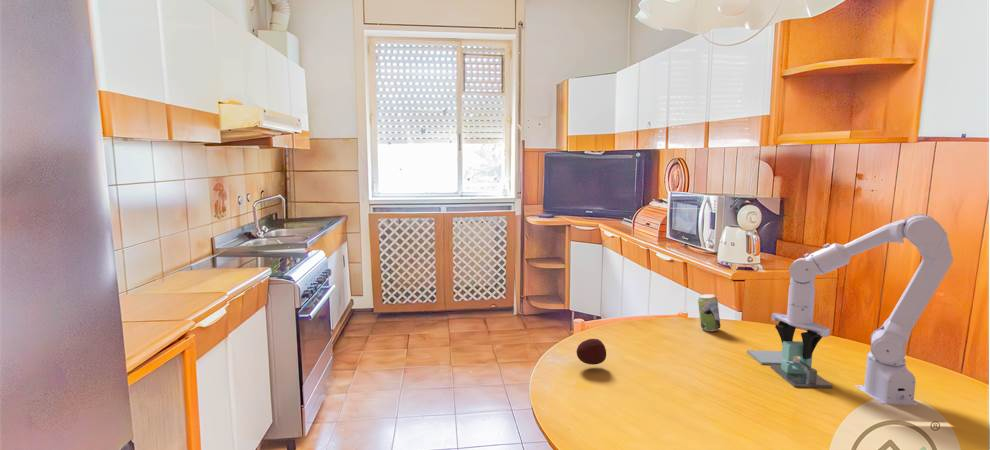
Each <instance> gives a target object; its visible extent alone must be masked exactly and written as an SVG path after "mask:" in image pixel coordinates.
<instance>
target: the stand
mask: <svg viewBox="0 0 990 450" xmlns="http://www.w3.org/2000/svg"><path fill="white" fill-rule="evenodd" d="M792 362H793V363H795V364H796V365H797V366H799V367H800V368H801V369H803V370H804V371H805V372H807V373H806V374H797V373H786V372H785V371H783V370H782V369H781V365H770V368H771V370H773V372H775V373H777V374H778V375H779V376H780V377H781V378H782V379H784V380H785V381H786V382H788V383H789V384H790V385H791V386H792V387H794V388H811V389H813V388H815V389H833V384H831V383H830V382H829V381H828V380H826V379H824V378H823V377H822V376H820V375H819V374H818V369H815V368H812V366H811V367H810V366H808V365H807V364H806V363H804V362H803V361H801V360H800V357H798V358H797V357H796V356H793V361H792Z"/></svg>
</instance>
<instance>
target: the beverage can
mask: <svg viewBox="0 0 990 450" xmlns="http://www.w3.org/2000/svg"><path fill="white" fill-rule="evenodd" d="M698 297H699V298H698V299H697V303H698V304H697V305H698V313H699V321H700V327H701V329H702V330H704V331H706V332H715V331H718V330H719V329H721V319H720V311H719V310H720V309H719V302H718V298H717V297H716V295H715V294H711V293H704V294H700V295H699V296H698Z"/></svg>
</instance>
